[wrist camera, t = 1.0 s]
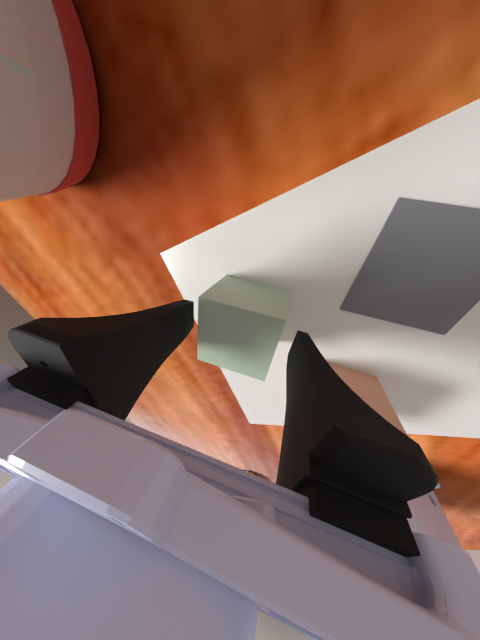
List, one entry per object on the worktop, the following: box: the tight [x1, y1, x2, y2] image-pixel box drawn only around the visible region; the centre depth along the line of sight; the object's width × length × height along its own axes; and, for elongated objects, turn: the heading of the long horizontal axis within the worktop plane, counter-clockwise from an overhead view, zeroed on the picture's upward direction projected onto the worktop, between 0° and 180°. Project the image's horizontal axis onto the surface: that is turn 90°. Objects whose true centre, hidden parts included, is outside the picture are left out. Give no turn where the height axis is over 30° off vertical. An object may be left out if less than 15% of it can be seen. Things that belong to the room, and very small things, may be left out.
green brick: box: [197, 275, 289, 382], centre depth 12 cm, size 5×5×4 cm
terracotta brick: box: [328, 362, 407, 435], centre depth 13 cm, size 5×5×4 cm
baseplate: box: [160, 99, 480, 438], centre depth 14 cm, size 22×22×1 cm
